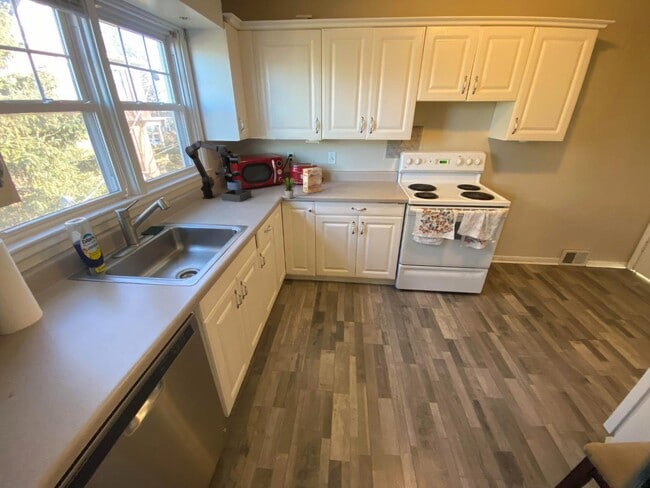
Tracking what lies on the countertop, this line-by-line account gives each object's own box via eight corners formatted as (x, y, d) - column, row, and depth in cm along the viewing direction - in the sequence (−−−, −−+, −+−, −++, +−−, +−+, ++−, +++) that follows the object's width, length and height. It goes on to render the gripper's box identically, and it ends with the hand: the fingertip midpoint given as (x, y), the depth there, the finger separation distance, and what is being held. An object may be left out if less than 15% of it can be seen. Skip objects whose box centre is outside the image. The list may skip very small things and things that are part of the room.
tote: (222, 199, 213) (221, 193, 211) (234, 194, 227) (233, 188, 224) (240, 201, 209) (239, 195, 207) (251, 196, 222) (250, 190, 220)
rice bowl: (225, 188, 209) (224, 182, 207) (232, 185, 218) (232, 179, 216) (236, 190, 207) (236, 183, 205) (244, 187, 216) (243, 180, 213)
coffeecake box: (307, 193, 233) (307, 170, 224) (303, 192, 238) (302, 168, 229) (322, 191, 241) (322, 168, 233) (317, 189, 246) (317, 166, 238)
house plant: (294, 201, 212) (293, 179, 205) (277, 199, 215) (276, 178, 208) (300, 196, 224) (300, 176, 217) (285, 195, 228) (284, 175, 221)
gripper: (208, 164, 202) (211, 185, 208) (230, 166, 197) (233, 188, 203) (218, 162, 211) (221, 182, 218) (239, 163, 206) (242, 184, 213)
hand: (229, 184), depth 213 cm, fingers closed on rice bowl
